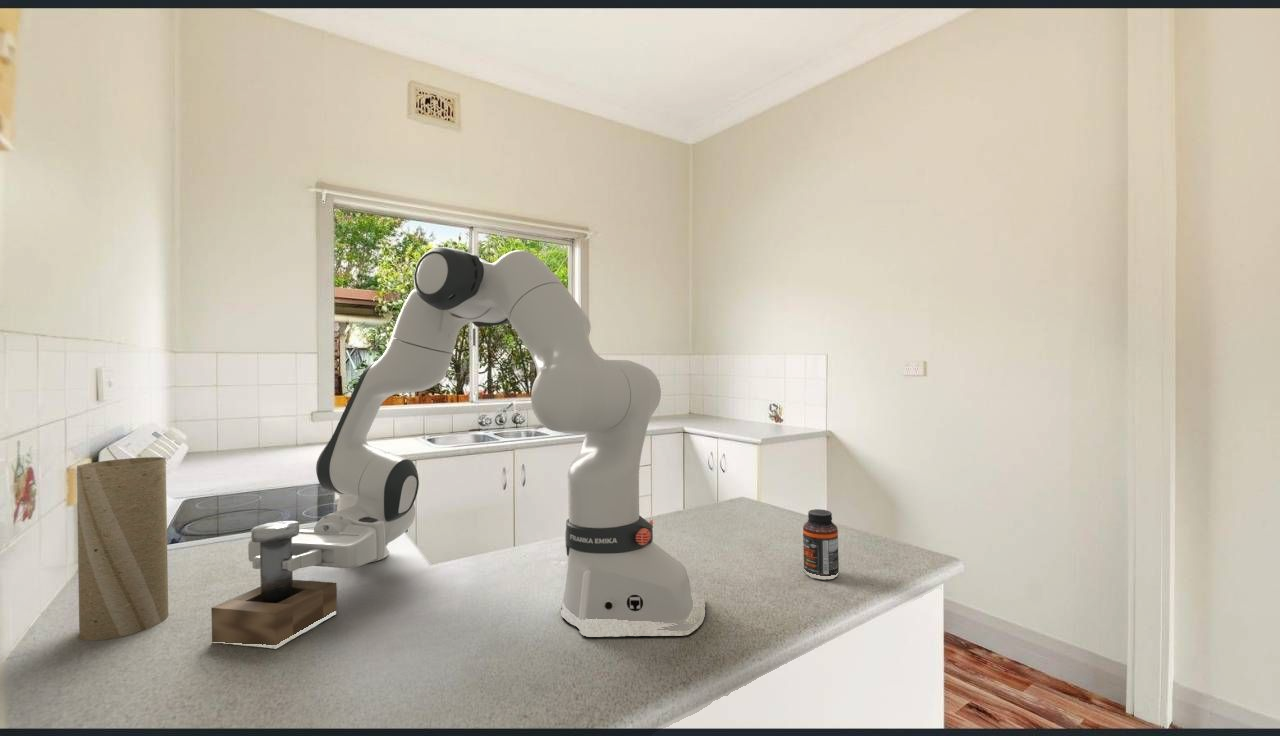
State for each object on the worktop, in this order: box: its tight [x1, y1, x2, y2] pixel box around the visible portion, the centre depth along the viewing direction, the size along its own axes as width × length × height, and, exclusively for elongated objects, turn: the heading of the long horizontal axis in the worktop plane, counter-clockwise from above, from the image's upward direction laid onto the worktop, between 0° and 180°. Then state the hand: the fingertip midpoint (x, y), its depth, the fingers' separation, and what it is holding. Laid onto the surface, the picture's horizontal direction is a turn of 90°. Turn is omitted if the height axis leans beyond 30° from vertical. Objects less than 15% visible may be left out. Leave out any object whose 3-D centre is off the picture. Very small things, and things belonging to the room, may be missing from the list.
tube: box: [76, 456, 169, 642], centre depth 84 cm, size 10×10×25 cm
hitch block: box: [210, 579, 338, 645], centre depth 82 cm, size 11×11×5 cm
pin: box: [250, 520, 300, 603], centre depth 82 cm, size 6×6×12 cm
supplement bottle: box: [802, 508, 840, 576], centre depth 98 cm, size 6×6×11 cm
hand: (271, 565), depth 81 cm, fingers closed on pin, 4 cm apart
